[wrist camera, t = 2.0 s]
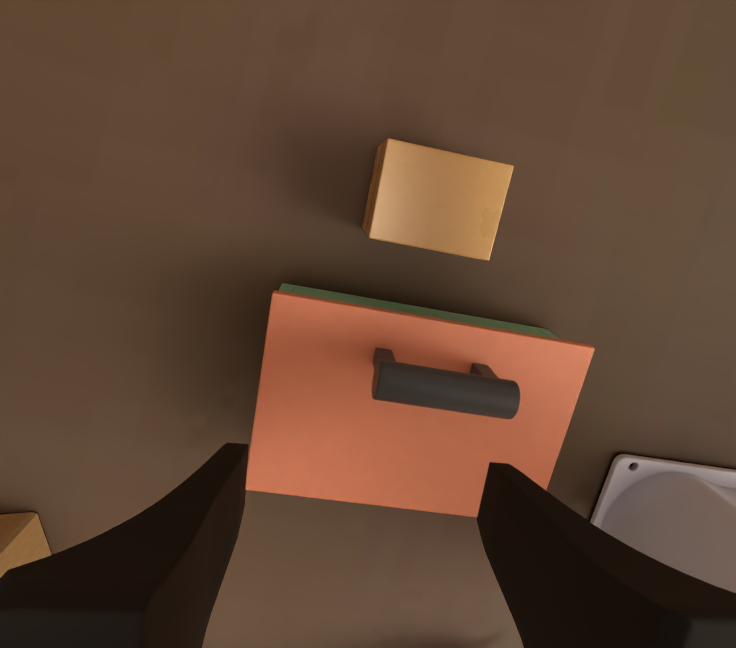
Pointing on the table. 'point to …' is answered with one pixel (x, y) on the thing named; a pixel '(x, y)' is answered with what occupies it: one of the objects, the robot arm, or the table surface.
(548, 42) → the table surface
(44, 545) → the sandwich container
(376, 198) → the block
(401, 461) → the lid
